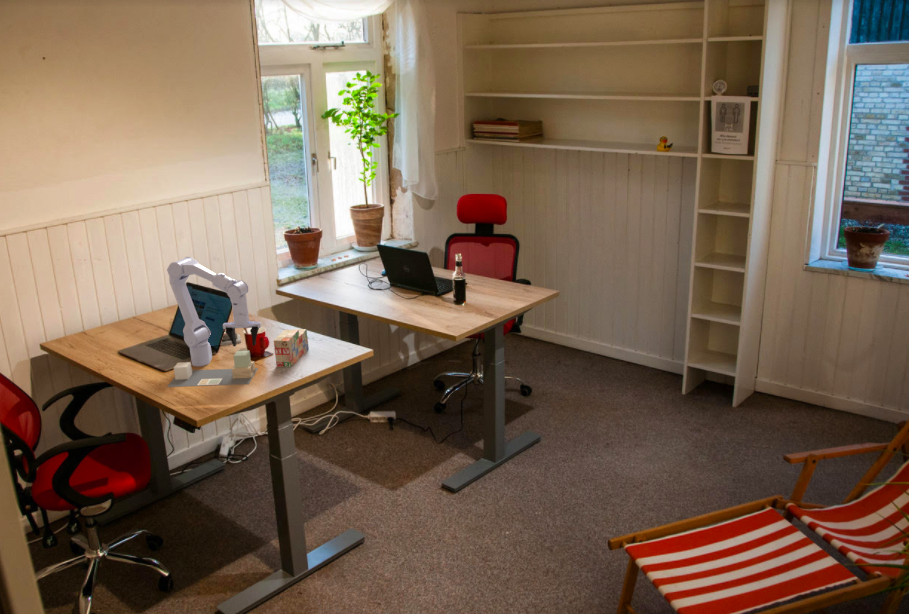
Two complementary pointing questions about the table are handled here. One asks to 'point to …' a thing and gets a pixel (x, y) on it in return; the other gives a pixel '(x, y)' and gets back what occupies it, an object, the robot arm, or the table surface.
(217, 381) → the card
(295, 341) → the stack of blocks
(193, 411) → the table surface
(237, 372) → the base block
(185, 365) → the offwhite cube
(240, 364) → the sage cube
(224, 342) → the stapler
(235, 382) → the mat
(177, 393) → the table surface
